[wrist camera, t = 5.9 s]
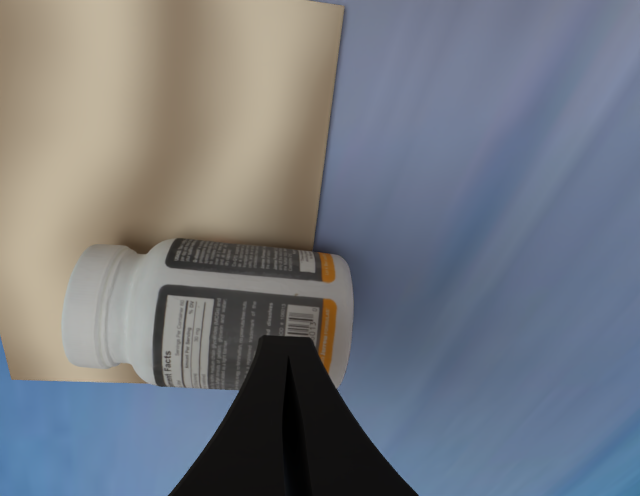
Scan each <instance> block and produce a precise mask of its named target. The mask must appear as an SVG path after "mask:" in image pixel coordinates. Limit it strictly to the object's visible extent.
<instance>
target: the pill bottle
mask: <svg viewBox="0 0 640 496" xmlns="http://www.w3.org/2000/svg"><path fill="white" fill-rule="evenodd" d="M353 310H354V300H353V287H352V279H351V273H350V269H349V266H348V264H347V263H346V261H345V260H344V259H343V258H342V257H341V256H339V255H335V254H328V253H321V252H312V251H303V250H293V249H286V248H275V247H267V246H254V245H243V244H232V243H223V242H213V241H203V240H194V239H184V238H174V239H168V240H165V241H162V242H160V243H158V244H157V245H155V246H154V247H153V248H152V249H151V250H150V251H149V252H148V253H147V254H137V253H136V252H135V251H134V250H132V249H130V248H129V247H127V246H123V245H108V244H95V245H92V246H90V247H88V248H87V249H86V250H85V251H84V252H83V253H82V255H81V256H80V258H79V259H78V261H77V263H76V265H75V267H74V269H73V271H72V273H71V276H70V279H69V282H68V286H67V290H66V293H65V298H64V303H63V311H62V320H61V331H62V343H63V347H64V351H65V354H66V357H67V358H68V360H69V362H70V363H72V364H73V365H75V366H78V367H86V368H97V369H109V368H111V367H115V366H118V365H119V364H120V363H128V364H131V365H132V366H133V368H134V370H135V372H136V373H137V375H138V376H139V377H140V378H141V379H142V380H144V381H145V382H147V383H149V384H152V385H156V386H161V387H183V388H202V389H225V390H240V388H241V386H242V384H243V382H244V380H245V378H246V376H247V374H248V371H249V369H250V367H251V364H252V362H253V359H254V356H255V353H256V350H257V346H258V340H259V338H260V337H261V336H263V335H274V336H296V337H310V338H311V339H312V340H313V342H314V345H315V347H316V350H317V352H318V354H319V356H320V359H321V361H322V363H323V365H324V367H325V369H326V371H327V373H328V375H329V376H330V378H331V380H332V382H333V384H334V385H335V387H336V389H337V388H338V387H339V385H340V384H341V383H342V381H343V378H344V375H345V372H346V368H347V364H348V359H349V355H350V348H351V340H352V327H353Z"/></svg>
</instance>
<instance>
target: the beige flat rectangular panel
mask: <svg viewBox="0 0 640 496" xmlns="http://www.w3.org/2000/svg"><path fill="white" fill-rule="evenodd" d="M343 14H344V6H341V5H335V4H328V3H321V2H315V1H308V0H0V335H1V339H2V343H3V347H4V351H5V355H6V359H7V363H8V367H9V371H10V375H11V379H12V380H45V381H79V382H114V383H147V382H145V381H144V380H142V379H141V378H140V377H139V376H138V375H137V373H136V372H135V370H134V368H133V366H132V365H131V364H128V363H120V364H119V365H118V366H115V367H111V368H109V369H97V368H86V367H78V366H75V365H73V364H72V363H70V362H69V360H68V358H67V357H66V354H65V351H64V347H63V343H62V331H61V320H62V311H63V303H64V298H65V293H66V290H67V286H68V282H69V279H70V276H71V273H72V271H73V269H74V267H75V265H76V263H77V261H78V259H79V258H80V256H81V255H82V253H83V252H84V251H85V250H86V249H87V248H88V247H90V246H92V245H95V244H108V245H123V246H127V247H129V248H130V249H132V250H134V251H135V252H136V253H137V254H147V253H148V252H149V251H150V250H151V249H152V248H153V247H154V246H155V245H157V244H158V243H160V242H162V241H165V240H168V239H174V238H184V239H194V240H203V241H213V242H223V243H232V244H243V245H254V246H267V247H275V248H286V249H293V250H303V251H313V244H314V236H315V228H316V221H317V213H318V205H319V198H320V190H321V182H322V175H323V167H324V159H325V152H326V144H327V136H328V129H329V121H330V113H331V106H332V98H333V90H334V83H335V75H336V67H337V60H338V52H339V44H340V37H341V29H342V21H343Z"/></svg>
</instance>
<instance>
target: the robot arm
mask: <svg viewBox="0 0 640 496" xmlns="http://www.w3.org/2000/svg"><path fill="white" fill-rule="evenodd" d="M168 496H419V495H418V494H417V493H416V492H415V491H414V490H413V489H412V488H411V487H410V486H409V485H408V484H407V483H406V482H405V481H404V480H403V479H402V477H401V476H400V475H399V474H398V473H397V472H396V471H395V469H394V468H393V467H392V466H391V465H390V464H389V462H388V461H387V460H386V459H385V458H384V457H383V455H382V454H381V453H380V452H379V450H378V449H377V448H376V446H375V445H374V444H373V443H372V441H371V440H370V439H369V437H368V436H367V435H366V433H365V432H364V431H363V429H362V428H361V426H360V425H359V423H358V422H357V421H356V419H355V418H354V416H353V415H352V413H351V412H350V410H349V409H348V407H347V405H346V404H345V402H344V401H343V399H342V397H341V396H340V394H339V392H338V390H337V389H336V387H335V385H334V384H333V382H332V380H331V378H330V376H329V375H328V373H327V371H326V369H325V367H324V365H323V363H322V361H321V359H320V356H319V354H318V352H317V350H316V347H315V345H314V342H313V340H312V339H311V338H310V337H296V336H274V335H263V336H261V337H260V338H259V340H258V346H257V350H256V353H255V356H254V359H253V362H252V364H251V367H250V369H249V371H248V374H247V376H246V378H245V380H244V382H243V384H242V386H241V388H240V391H239V392H238V394H237V396H236V398H235V400H234V402H233V403H232V405H231V407H230V409H229V410H228V412H227V414H226V416H225V417H224V419H223V421H222V422H221V424H220V426H219V427H218V429H217V430H216V432H215V434H214V435H213V437H212V438H211V440H210V441H209V442H208V444H207V445H206V447H205V448H204V450H203V451H202V453H201V454H200V455H199V457H198V458H197V459H196V461H195V462H194V463H193V465H192V466H191V467H190V469H189V470H188V471H187V473H186V474H185V475H184V477H183V478H182V479H181V480H180V482H179V483H178V484H177V485H176V487H175V488H174V489H173V490H172V492H171V493H170V494H169V495H168Z"/></svg>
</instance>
